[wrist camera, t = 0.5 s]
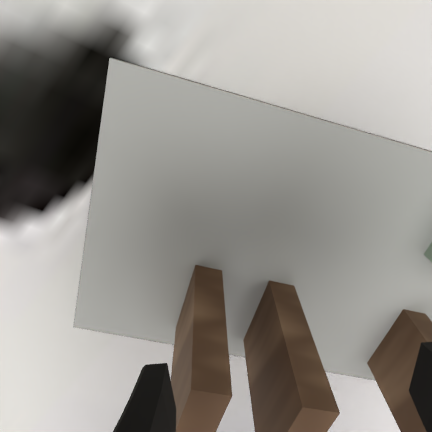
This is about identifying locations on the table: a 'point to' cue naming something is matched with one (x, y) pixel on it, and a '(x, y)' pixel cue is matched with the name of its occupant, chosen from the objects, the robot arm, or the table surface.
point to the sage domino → (429, 252)
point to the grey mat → (250, 217)
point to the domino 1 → (201, 355)
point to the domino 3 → (401, 366)
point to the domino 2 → (286, 367)
